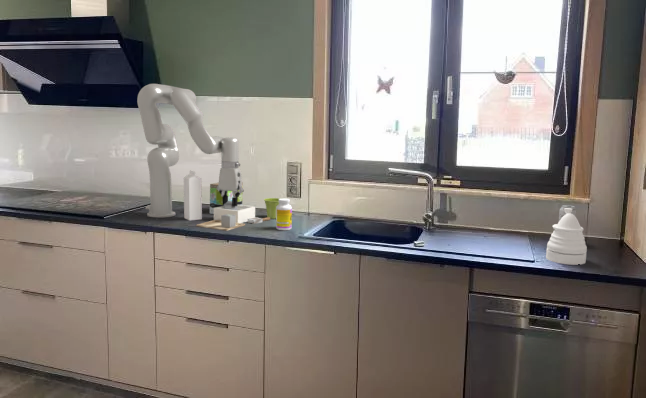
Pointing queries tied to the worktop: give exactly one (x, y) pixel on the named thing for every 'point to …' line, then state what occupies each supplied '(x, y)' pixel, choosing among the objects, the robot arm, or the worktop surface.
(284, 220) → the supplement bottle
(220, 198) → the tea box
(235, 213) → the bin
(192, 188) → the milk
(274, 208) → the plant pot
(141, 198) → the worktop surface
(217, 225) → the tray
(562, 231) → the honey pot
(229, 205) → the grey block
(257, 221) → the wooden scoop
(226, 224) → the gray block
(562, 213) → the clear tall block
